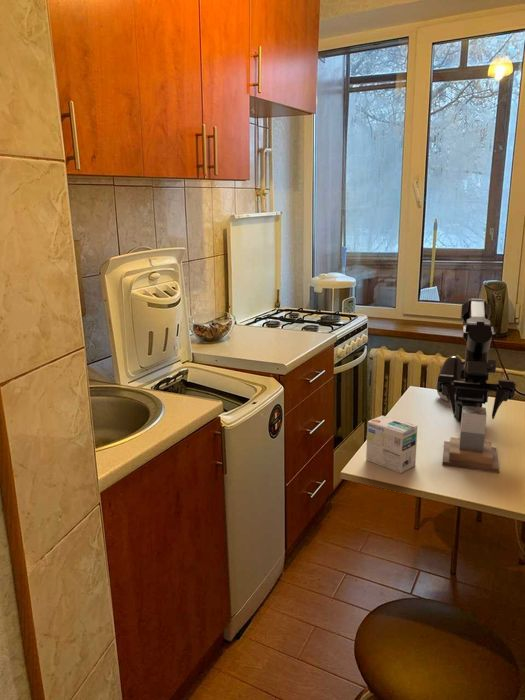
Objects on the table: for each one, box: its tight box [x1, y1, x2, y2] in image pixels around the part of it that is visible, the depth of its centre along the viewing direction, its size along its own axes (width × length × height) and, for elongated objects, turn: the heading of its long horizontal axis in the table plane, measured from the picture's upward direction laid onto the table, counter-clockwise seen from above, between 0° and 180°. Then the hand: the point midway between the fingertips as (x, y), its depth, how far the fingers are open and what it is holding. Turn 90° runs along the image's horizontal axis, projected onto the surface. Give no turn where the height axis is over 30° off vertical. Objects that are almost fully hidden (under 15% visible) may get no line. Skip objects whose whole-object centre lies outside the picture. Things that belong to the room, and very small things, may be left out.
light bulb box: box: [365, 415, 418, 474], centre depth 135 cm, size 11×7×11 cm, turn 43°
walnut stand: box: [441, 437, 500, 474], centre depth 138 cm, size 13×13×3 cm
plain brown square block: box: [459, 406, 487, 453], centre depth 136 cm, size 6×6×10 cm
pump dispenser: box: [435, 355, 465, 403], centre depth 179 cm, size 10×10×15 cm
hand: (473, 416), depth 137 cm, fingers open, 9 cm apart
